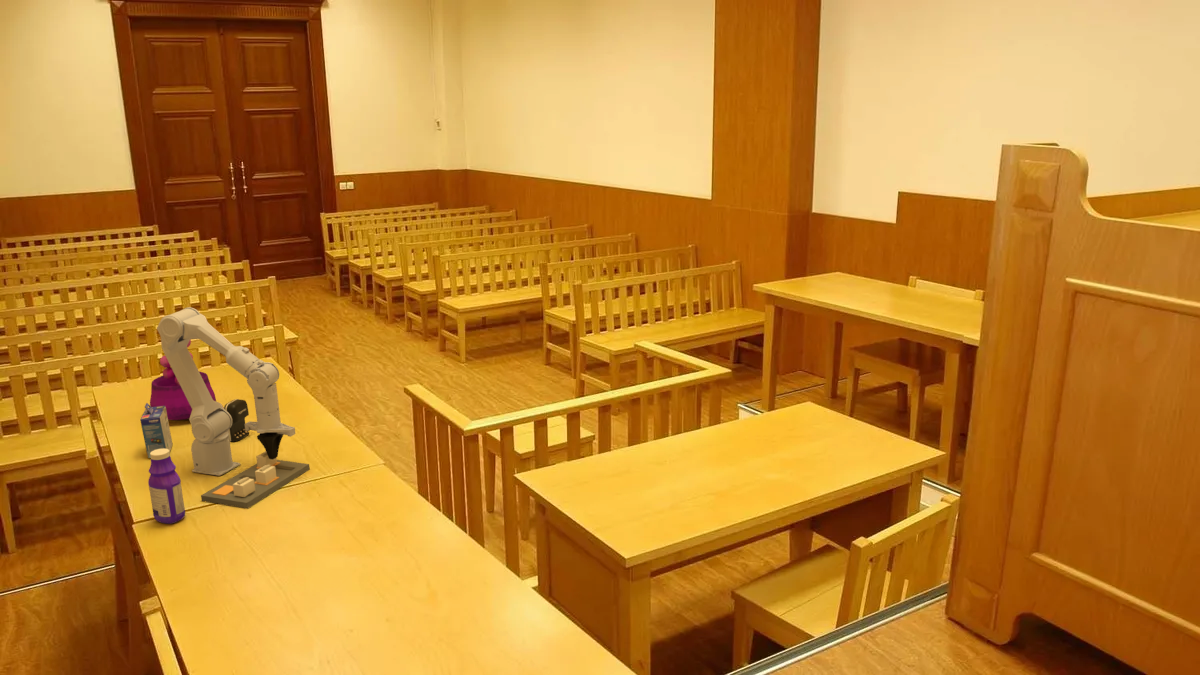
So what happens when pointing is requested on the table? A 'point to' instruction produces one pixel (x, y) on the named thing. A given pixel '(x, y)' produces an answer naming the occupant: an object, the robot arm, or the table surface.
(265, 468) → the switch
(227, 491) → the switch board
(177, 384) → the decorative plant
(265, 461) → the switch
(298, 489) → the table surface
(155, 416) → the ink cartridge box
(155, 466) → the bottle
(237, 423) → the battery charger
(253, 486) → the switch
